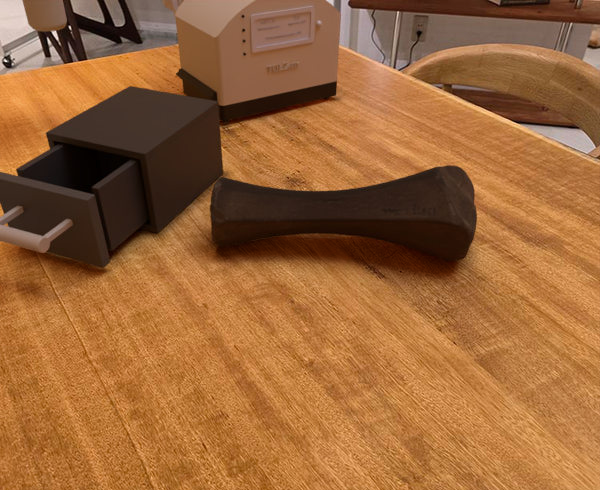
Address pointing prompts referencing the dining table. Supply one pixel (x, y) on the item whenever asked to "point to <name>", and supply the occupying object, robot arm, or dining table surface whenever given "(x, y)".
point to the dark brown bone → (355, 212)
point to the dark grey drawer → (73, 203)
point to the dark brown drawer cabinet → (154, 144)
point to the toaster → (257, 52)
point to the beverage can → (45, 14)
